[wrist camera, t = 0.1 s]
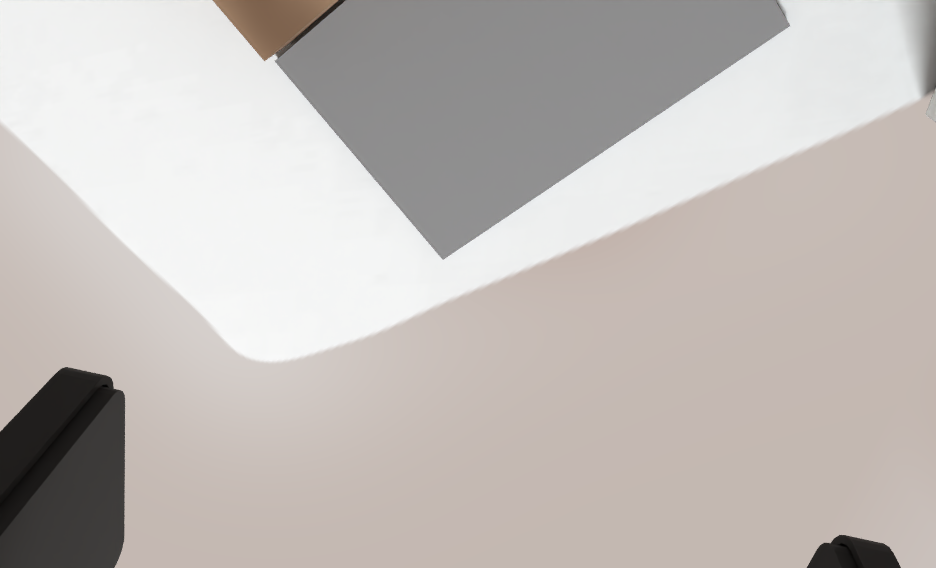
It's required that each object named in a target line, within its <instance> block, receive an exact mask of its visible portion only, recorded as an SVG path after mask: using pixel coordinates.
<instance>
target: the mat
mask: <svg viewBox="0 0 936 568" xmlns="http://www.w3.org/2000/svg"><path fill="white" fill-rule="evenodd" d="M789 26H790V25H789V23H788V21H787V19H786V18H785V16H784V14H783V13H782V11H781V9H780V7H779V6H778V4H777V2H776V1H775V0H346V1H344V2H343V3H342V4H341V5H340V6H339V7H337V8H336V9H335V10H334V11H333V12H332V13H330V14H329V15H328V16H327V17H326V18H325V19H323V20H322V21H321V22H320V23H319V24H318V25H316V26H315V27H314V28H313V29H312V30H311V31H309V32H308V33H307V34H306V35H305V36H304V37H302V38H301V39H300V40H299V41H298V42H297V43H295V44H294V45H293V46H292V47H291V48H290V49H288V50H287V51H286V52H285V53H284V54H283V55H281V56H280V57H279V58H278V59H277V60H276V61H275V62H276V63H277V64H278V66H279V67H280V68H281V69H282V70H283V71H284V73H285V74H286V75H287V76H288V77H289V79H290V80H291V81H292V82H293V83H294V84H295V86H296V87H297V88H298V89H299V90H300V91H301V93H302V94H303V95H304V96H305V97H306V99H307V100H308V101H309V102H310V103H311V104H312V106H313V107H314V108H315V109H316V110H317V112H318V113H319V114H320V115H321V116H322V117H323V119H324V120H325V121H326V122H327V123H328V125H329V126H330V127H331V128H332V129H333V130H334V132H335V133H336V134H337V135H338V136H339V138H340V139H341V140H342V141H343V142H344V143H345V145H346V146H347V147H348V148H349V149H350V151H351V152H352V153H353V154H354V155H355V156H356V158H357V159H358V160H359V161H360V162H361V164H362V165H363V166H364V167H365V168H366V169H367V171H368V172H369V173H370V174H371V175H372V177H373V178H374V179H375V180H376V181H377V182H378V184H379V185H380V186H381V187H382V188H383V190H384V191H385V192H386V193H387V194H388V195H389V197H390V198H391V199H392V200H393V201H394V203H395V204H396V205H397V206H398V207H399V208H400V210H401V211H402V212H403V213H404V214H405V216H406V217H407V218H408V219H409V220H410V221H411V223H412V224H413V225H414V226H415V227H416V229H417V230H418V231H419V232H420V233H421V234H422V236H423V237H424V238H425V239H426V240H427V242H428V243H429V244H430V245H431V246H432V247H433V249H434V250H435V251H436V252H437V253H438V255H439V256H440V257H441V258H442V259H445V258H446V257H448V256H449V255H451V254H452V253H454V252H455V251H457V250H458V249H460V248H461V247H463V246H464V245H466V244H467V243H469V242H470V241H472V240H473V239H475V238H476V237H478V236H479V235H480V234H482V233H483V232H485V231H486V230H488V229H489V228H491V227H492V226H494V225H495V224H497V223H498V222H500V221H501V220H503V219H504V218H506V217H507V216H509V215H510V214H512V213H513V212H515V211H516V210H518V209H519V208H521V207H522V206H524V205H525V204H526V203H528V202H529V201H531V200H532V199H534V198H535V197H537V196H538V195H540V194H541V193H543V192H544V191H546V190H547V189H549V188H550V187H552V186H553V185H555V184H556V183H558V182H559V181H561V180H562V179H564V178H565V177H567V176H568V175H570V174H571V173H572V172H574V171H575V170H577V169H578V168H580V167H581V166H583V165H584V164H586V163H587V162H589V161H590V160H592V159H593V158H595V157H596V156H598V155H599V154H601V153H602V152H604V151H605V150H607V149H608V148H610V147H611V146H613V145H614V144H616V143H617V142H618V141H620V140H621V139H623V138H624V137H626V136H627V135H629V134H630V133H632V132H633V131H635V130H636V129H638V128H639V127H641V126H642V125H644V124H645V123H647V122H648V121H650V120H651V119H653V118H654V117H656V116H657V115H659V114H660V113H662V112H663V111H664V110H666V109H667V108H669V107H670V106H672V105H673V104H675V103H676V102H678V101H679V100H681V99H682V98H684V97H685V96H687V95H688V94H690V93H691V92H693V91H694V90H696V89H697V88H699V87H700V86H702V85H703V84H705V83H706V82H708V81H709V80H710V79H712V78H713V77H715V76H716V75H718V74H719V73H721V72H722V71H724V70H725V69H727V68H728V67H730V66H731V65H733V64H734V63H736V62H737V61H739V60H740V59H742V58H743V57H745V56H746V55H748V54H749V53H751V52H752V51H754V50H755V49H756V48H758V47H759V46H761V45H762V44H764V43H765V42H767V41H768V40H770V39H771V38H773V37H774V36H776V35H777V34H779V33H780V32H782V31H783V30H785V29H786V28H788V27H789Z"/></svg>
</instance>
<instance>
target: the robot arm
mask: <svg viewBox="0 0 936 568" xmlns="http://www.w3.org/2000/svg"><path fill="white" fill-rule="evenodd" d="M124 458H125V396H124V393H123V391H121V390H116V389H114V388H113V381H112V379H111V378H110V377H108V376H105V375H100V374H96V373H91V372H87V371H82V370H77V369H73V368H68V367H65V368H62V369H61V370H59V371H58V372H57V373H56V374H55V375H54V376H53V377H52V378H51V379H50V380H49V381H48V382H47V383H46V384H45V385H44V386H43V388H42V389H41V390H40V391H39V392H38V393H37V394H36V395H35V396H34V397H33V398H32V399H31V400H30V401H29V402H28V403H27V404H26V405H25V406H24V407H23V409H22V410H21V411H20V412H19V413H18V414H17V415H16V416H15V417H14V418H13V419H12V420H11V421H10V422H9V423H8V424H7V425H6V426H5V427H4V429H3V430H2V431H1V432H0V568H114V567H115V565H116V563H117V561H118V559H119V556H120V554H121V550H122V547H123V542H124V480H125V479H124V477H125V475H124V474H125V459H124ZM807 568H901V567H900V565H899V563H898V561H897V559H896V557H895V555H894V553H893V552H892V551H891V549H890V548H889V547H888V546H887V545H885V544H883V543H878V542H873V541H869V540H864V539H860V538H855V537H850V536H846V535H839V536H838V537H836V538H834V540H833V541H832V542H831V544H830V543H823V544H822V545H820V546H819V548H818V549H817V551H816V553H815V554H814V556H813V558H812V560H811V561H810V563H809V565H808V566H807Z"/></svg>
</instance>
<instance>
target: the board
mask: <svg viewBox="0 0 936 568" xmlns="http://www.w3.org/2000/svg"><path fill="white" fill-rule="evenodd" d="M213 1H214V2H215V4H216V5H217V6H218V7H219V8H220V9H221V11H222V12H223V13H224V14H225V15H226V16H227V18H228V19H229V20H230V21H231V22H232V23H233V25H234V26H235V27H236V28H237V29H238V31H239V32H240V33H241V34H242V35H243V36H244V38H245V39H246V40H247V41H248V42H249V43H250V45H251V46H252V47H253V48H254V49H255V51H256V52H257V53H258V54H259V55H260V56H261V58H262V59H263V60H264V61H265V60H267V59H268V58H270V57H271V56H272V55H274V54H275V53H276V52H278V51H279V50H281V49H282V48H283V47H285V46H286V45H287V44H289V43H290V42H291V41H292V40H294V39H295V38H296V37H297V36H298V35H299V34H301V33H302V32H303V31H304V30H305V29H306V28H308V27H309V26H310V25H311V24H312V23H313V22H315V21H316V20H317V19H318V18H319V17H320V16H321V15H323V14H324V13H325V12H326V11H327V10H328V9H330V8H331V7H332V6H333V5H334V4H335V3H337V2H338V1H339V0H213Z"/></svg>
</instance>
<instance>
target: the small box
mask: <svg viewBox="0 0 936 568" xmlns="http://www.w3.org/2000/svg"><path fill="white" fill-rule="evenodd" d="M926 115H927V117H929V118H930V119H932V120H933V121H935V122H936V88H935V90H934V93H933V96H932V98H931V101H930V104H929V107H928V109H927V112H926Z"/></svg>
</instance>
